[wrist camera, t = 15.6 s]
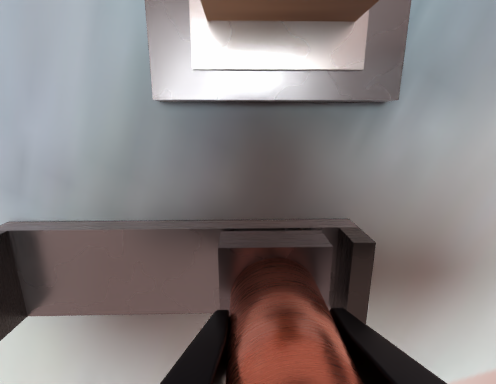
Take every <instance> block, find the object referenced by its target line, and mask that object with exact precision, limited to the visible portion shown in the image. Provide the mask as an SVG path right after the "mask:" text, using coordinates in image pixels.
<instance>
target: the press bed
mask: <svg viewBox="0 0 496 384" xmlns="http://www.w3.org/2000/svg"><path fill="white" fill-rule="evenodd" d="M410 7H411V0H379V1H378V2H377V3H376V4H375V5H373V6H372V7H371V8H370V9H369V10H368V11H367V12H366V13H364V14H363V15H362V16H361V17H360V18H359V19H358V20H357V21H355V22H346V21H207V19H206V16H205V13H204V10H203V7H202V4H201V1H200V0H145V10H146V22H147V34H148V46H149V58H150V70H151V83H152V95H153V100H156V101H160V102H388V101H395V100H399V92H400V84H401V76H402V69H403V61H404V53H405V45H406V38H407V30H408V22H409V14H410Z"/></svg>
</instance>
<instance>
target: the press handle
mask: <svg viewBox="0 0 496 384" xmlns="http://www.w3.org/2000/svg"><path fill="white" fill-rule="evenodd" d="M332 254H333V246H332V245H331V243H330V242H329V241H328V239H327V238H326V237H325V235H324V234H323V233H322V231H321V230H303V231H221V234H220V239H219V245H218V270H219V303H220V310H229V332H228V349H227V364H226V381H225V384H363V382H362V379H361V377H360V375H359V373H358V371H357V369H356V367H355V365H354V362H353V360H352V358H351V356H350V354H349V352H348V350H347V348H346V346H345V343H344V341H343V339H342V337H341V335H340V333H339V331H338V329H337V326H336V324H335V322H334V320H333V318H332V316H331V314H330V312H329V309H328V302H329V290H330V278H331V266H332Z"/></svg>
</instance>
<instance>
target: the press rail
mask: <svg viewBox="0 0 496 384" xmlns="http://www.w3.org/2000/svg"><path fill="white" fill-rule="evenodd" d="M303 230H321V231H322V233H323V234H324V235H325V237H326V238H327V239H328V241H329V242H330V243H331V245H332V246H333V254H332V266H331V278H330V290H329V302H328V309H329V311H330V309H331V308H344V309H345V310H347V311H348V312H350V313H351V314H352V315H354V316H355V317H356V318H358V319H359V320H361V321H362V322H363V323H365V324H366V317H367V309H368V301H369V293H370V285H371V277H372V269H373V261H374V253H375V245H376V242H375V241H373V240H372V239H371V238H370V237H369V236H368V235H367V234H365V233H364V232H363V231H362V230H361V229H360V228H359V227H358V226H356V225H355V224H354V223H353V222H352V221H351V220H350V219H285V220H176V221H67V222H7V223H5V224H2V225H0V341H1V340H2V339H3V338H4V337H5V336H6V335H7V334H8V333H10V332H11V331H12V330H13V329H14V328H15V327H16V326H17V325H18V324H20V323H21V322H22V321H23V320H24V319H25V318H26V317H27V316H66V315H123V314H180V313H214V312H215V311H216V310H220V303H219V270H218V245H219V239H220V234H221V231H303Z"/></svg>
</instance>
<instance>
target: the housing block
mask: <svg viewBox="0 0 496 384" xmlns="http://www.w3.org/2000/svg"><path fill="white" fill-rule="evenodd" d="M200 1H201V4H202V7H203V10H204V13H205V16H206V19H207V21H346V22H355V21H357V20H358V19H359V18H360V17H361V16H362V15H363V14H364V13H366V12H367V11H368V10H369V9H370V8H371V7H372V6H373V5H375V4H376V3H377V2H378V1H379V0H200Z"/></svg>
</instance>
